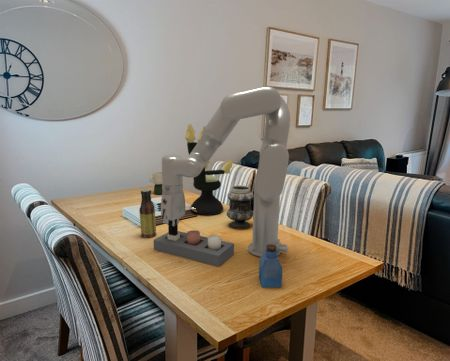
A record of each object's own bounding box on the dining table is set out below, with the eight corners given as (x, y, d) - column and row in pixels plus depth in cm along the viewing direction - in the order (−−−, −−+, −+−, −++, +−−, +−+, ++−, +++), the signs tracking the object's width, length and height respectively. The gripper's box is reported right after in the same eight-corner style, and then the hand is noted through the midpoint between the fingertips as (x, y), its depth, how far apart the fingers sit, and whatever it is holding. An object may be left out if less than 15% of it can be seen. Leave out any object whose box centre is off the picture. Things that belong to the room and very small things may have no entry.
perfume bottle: (277, 277, 111) (279, 242, 108) (281, 287, 105) (283, 250, 102) (258, 277, 111) (260, 242, 108) (261, 287, 105) (262, 250, 102)
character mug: (165, 191, 214) (165, 171, 211) (169, 194, 208) (169, 173, 205) (148, 193, 209) (147, 172, 206) (152, 196, 203) (151, 174, 200)
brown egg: (202, 243, 129) (202, 231, 128) (195, 248, 125) (195, 236, 124) (191, 241, 131) (191, 229, 130) (184, 245, 127) (184, 233, 126)
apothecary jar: (256, 223, 159) (258, 186, 155) (246, 232, 149) (247, 192, 145) (233, 219, 165) (234, 183, 161) (221, 227, 154) (222, 188, 150)
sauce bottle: (149, 231, 148) (148, 186, 144) (159, 235, 144) (158, 189, 140) (137, 235, 143) (135, 189, 139) (146, 239, 139) (145, 192, 135)
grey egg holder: (234, 253, 128) (234, 243, 127) (218, 266, 117) (218, 255, 116) (172, 238, 140) (172, 229, 139) (153, 249, 130) (153, 239, 129)
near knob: (223, 248, 125) (223, 236, 124) (217, 253, 121) (217, 241, 120) (212, 246, 127) (212, 234, 126) (205, 250, 123) (205, 238, 122)
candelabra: (232, 211, 177) (234, 123, 167) (201, 221, 161) (201, 124, 151) (207, 203, 190) (207, 121, 180) (176, 212, 174) (174, 122, 164)
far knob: (182, 245, 134) (182, 233, 133) (175, 249, 130) (175, 237, 129) (172, 242, 136) (172, 231, 135) (165, 247, 132) (164, 235, 131)
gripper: (168, 194, 120) (169, 243, 124) (191, 185, 132) (192, 230, 137) (151, 191, 123) (152, 239, 127) (176, 183, 136) (176, 226, 140)
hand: (173, 234), depth 132 cm, fingers closed
